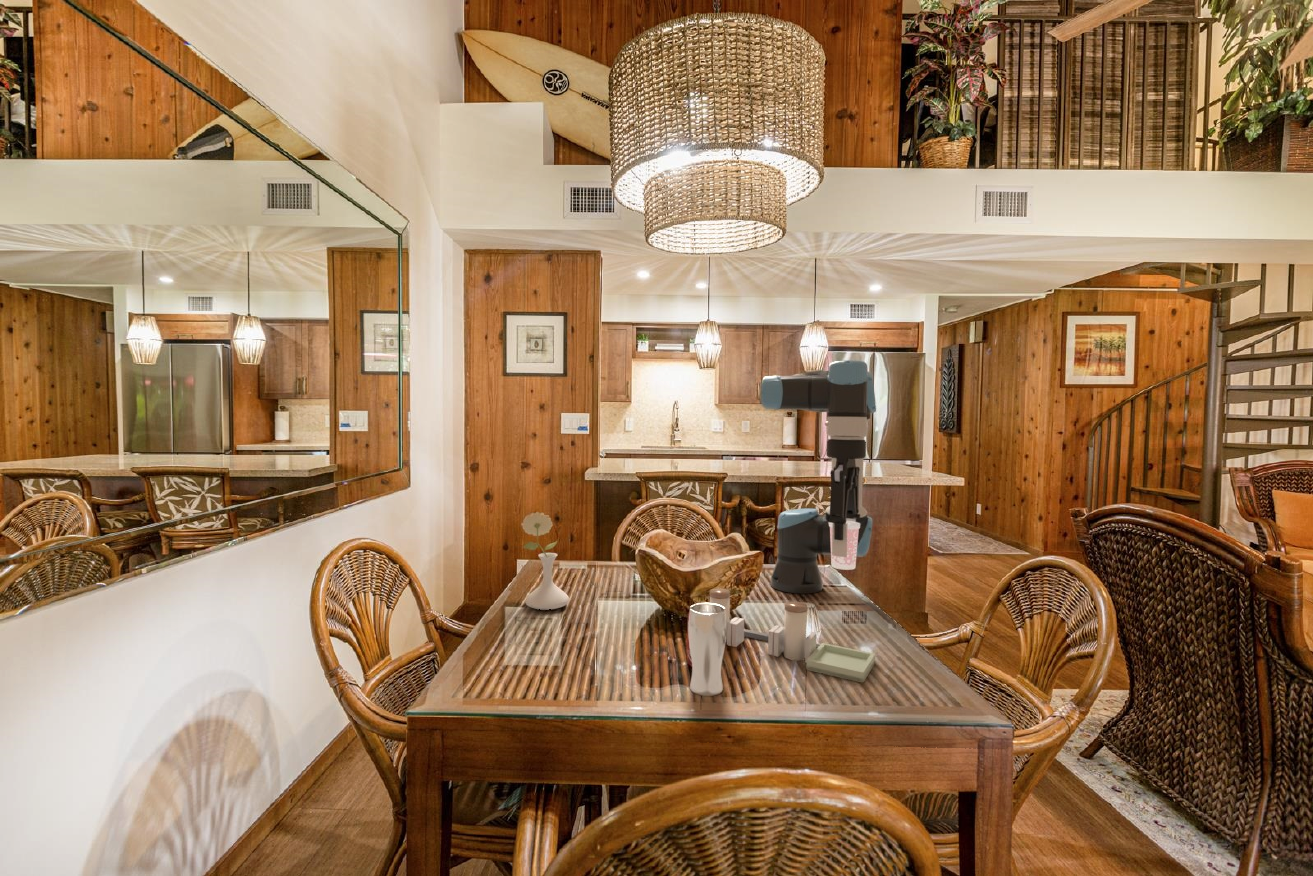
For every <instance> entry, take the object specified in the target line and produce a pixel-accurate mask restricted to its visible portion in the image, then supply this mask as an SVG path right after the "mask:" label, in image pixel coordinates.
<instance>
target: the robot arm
mask: <svg viewBox="0 0 1313 876" xmlns="http://www.w3.org/2000/svg"><path fill="white" fill-rule="evenodd" d="M828 367H829V368H828V370H811V371H806V372H801V373H795V374H792V375H778V374H775V375H767V376H764V377H763V379H762V381H761V385H760V400H761V402H760V403H761V406H762V408H764V409H766V410H774V411H778V410H802V411H805V412H806V411H807V412H815V413H816V412H817V413H826V419H827V421H825V422H824V426H825V427H827V428H826V429H827V436H828V437H830V438H829V439H827V440H826V456H827V458H831V470H830V472H829V473H830V500H829V503H830V504H829V506H827V507H826V508H825V514H822V513H821V514H819V512H820V511H818V509H817V508H808V507H807V508H795V509H789V510H785V511H782V512H780V514H779V515H778V519H777V526H776V529H777V548H776V549H777V551H776V553H777V555H776V556H777V557H776V562H775V566H774V568H773V571H772V574H771V576H770V586H771V587H772V588H773V589H775V590H778V591H781V592H786V593H792V594H815V593H819V592H821V591H823V587H824V586H823V582H824V581H823V579H822V575H821V572H820V569H819V564H818V555H829V556H831V541H830V527H829V522H830V523H833V533H832V555H833V556H840V557H847V529H848V524H847V523H846V521H854V522H858V523H860V528H859V532H858V543H857V555H856V558H857V557H858V558H859V557H861V558H863V557H865V556H866V555H867V554H868V551H869V549H870V543H871V539H872V538H871V537H872V530H873V518H872V517H870V516H868V511H867V509H866V508H865V507H864V506H863V487H864V485H863V484H864V483H863V482H864V481H863V479H864V458H866V455H867V453H866V452H867V441H866V440H865V438H866V437H867V434H868V433H867V431H868V430H867V428H868V427H867V425H868V424H867V423H868V422H869V421H870V420H871V414H874V413H876V412H877V405H876V404H877V403H876V395H875V394H876V393H875V387H874V378H873V374H872V373H871V372H870V371H868V364H867V363H866V362H865V361H863V360H849V359H848V360H836V361H833V362H830V363H829V366H828Z"/></svg>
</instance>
